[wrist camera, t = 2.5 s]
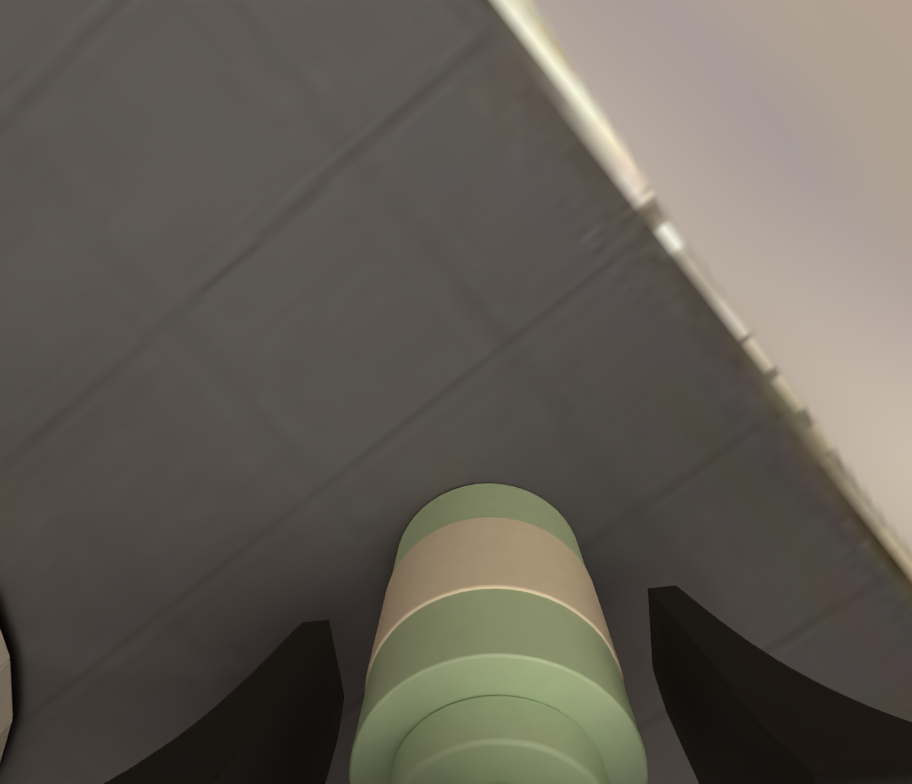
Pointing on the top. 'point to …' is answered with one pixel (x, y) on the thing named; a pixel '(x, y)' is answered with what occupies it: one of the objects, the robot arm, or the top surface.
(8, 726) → the pan
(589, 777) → the bottle
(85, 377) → the top surface
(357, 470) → the top surface
